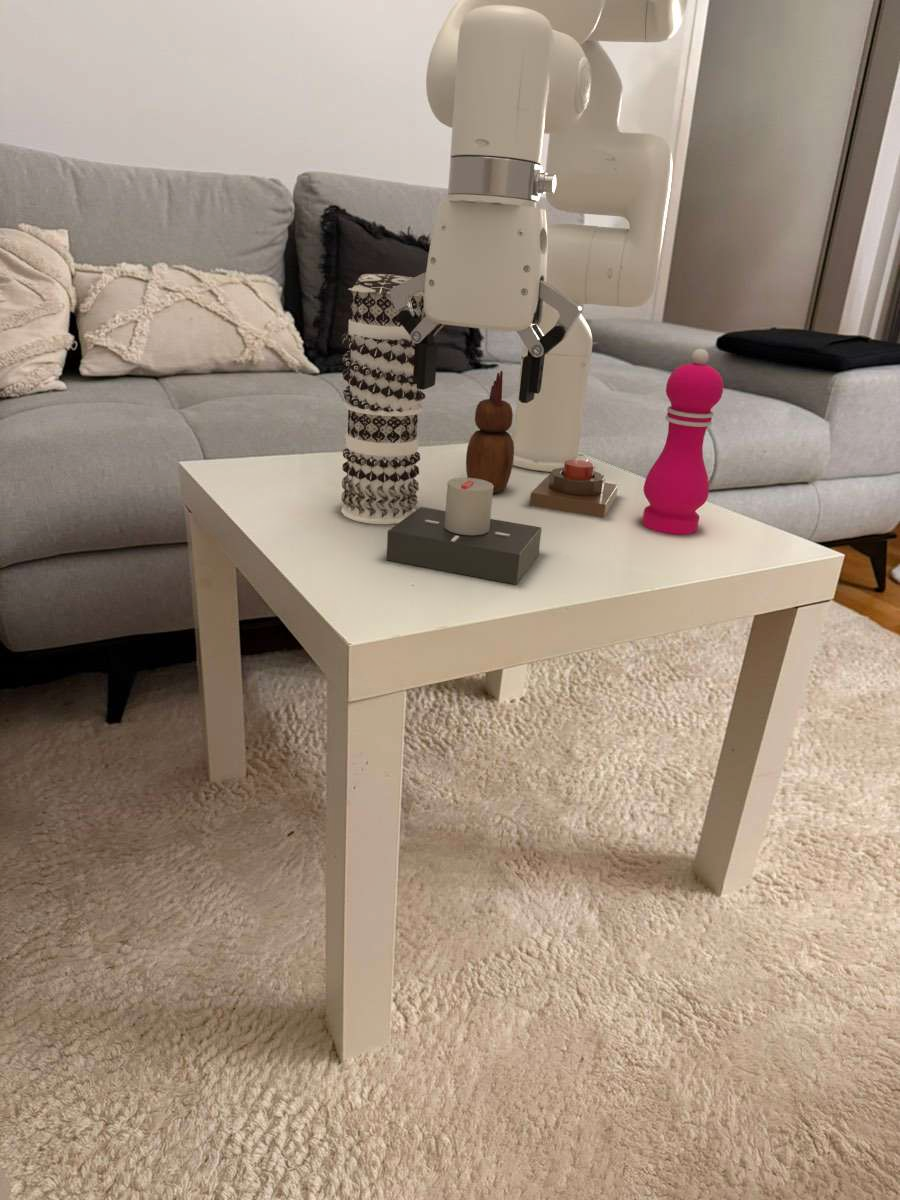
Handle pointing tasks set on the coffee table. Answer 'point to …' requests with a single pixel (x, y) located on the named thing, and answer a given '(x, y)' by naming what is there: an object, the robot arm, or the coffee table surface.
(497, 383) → the wooden figurine
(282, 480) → the coffee table surface
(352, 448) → the decorative candle
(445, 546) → the panel
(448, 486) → the knob
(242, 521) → the coffee table surface
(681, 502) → the pepper mill
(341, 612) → the coffee table surface
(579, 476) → the button
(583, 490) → the button block
